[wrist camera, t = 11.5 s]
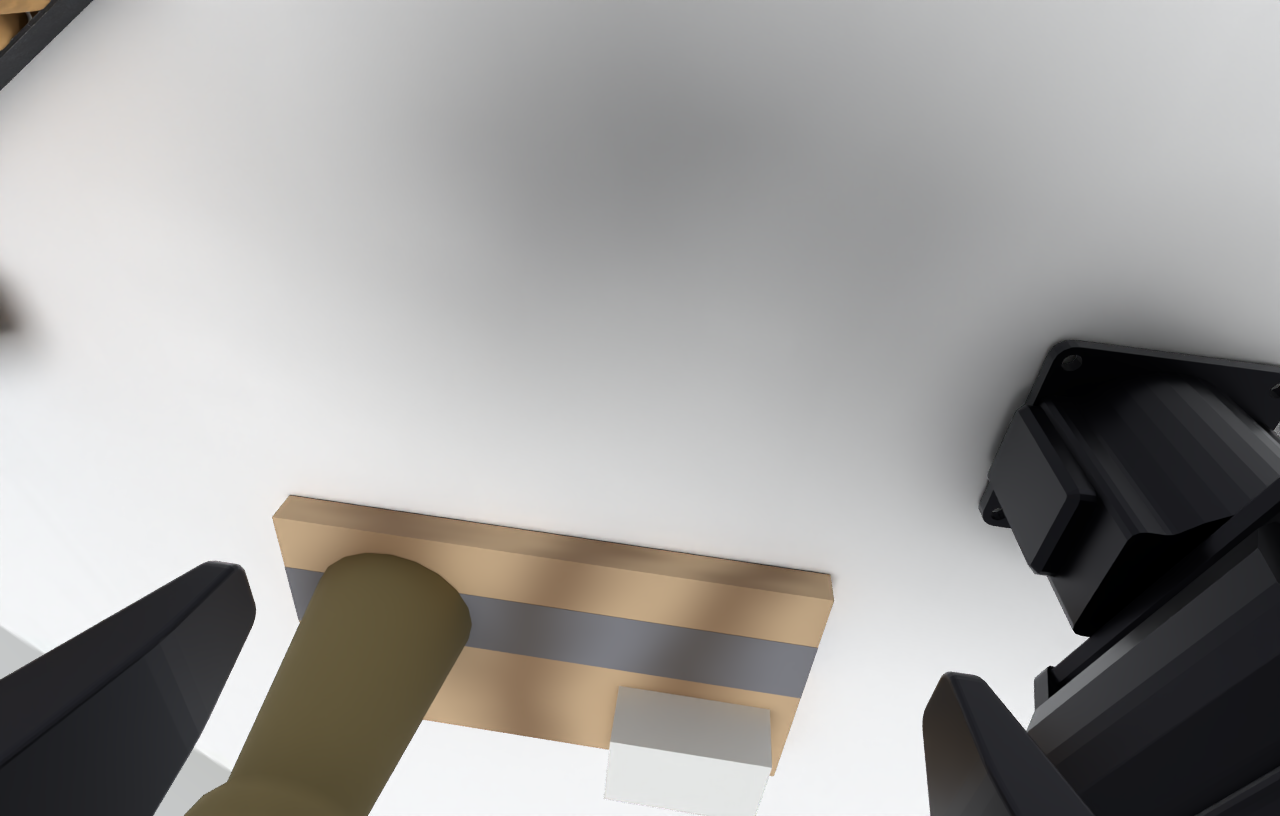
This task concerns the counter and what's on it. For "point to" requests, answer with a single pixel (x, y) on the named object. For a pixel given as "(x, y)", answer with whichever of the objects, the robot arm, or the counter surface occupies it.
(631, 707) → the white rectangular prism
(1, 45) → the ammunition clip
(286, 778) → the cork
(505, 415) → the counter surface
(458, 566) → the oak plank
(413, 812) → the counter surface
